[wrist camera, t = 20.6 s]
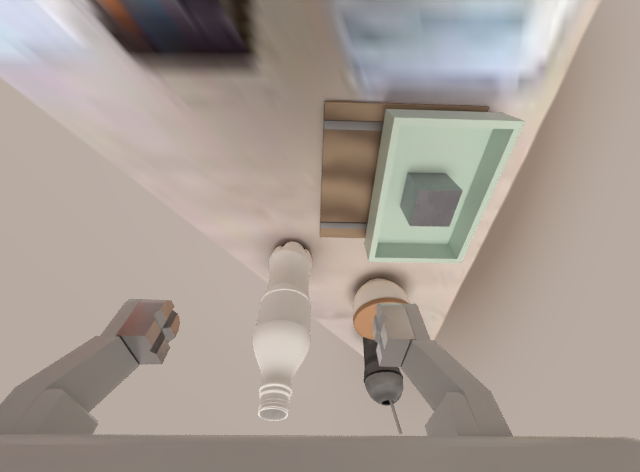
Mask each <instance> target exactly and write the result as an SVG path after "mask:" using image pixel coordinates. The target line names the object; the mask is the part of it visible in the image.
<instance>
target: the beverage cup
mask: <svg viewBox="0 0 640 472" xmlns="http://www.w3.org/2000/svg"><path fill="white" fill-rule="evenodd" d="M363 345H364V360H365V371H364V383H365V386H366V389H367V391H368V393H369V395H370V397H371V398H372V399H373V400H374V401H376V402H377V403H379V404H381V405H391V408H392V411H393V415H394V418H395V421H396V425H397V428H398V431H399V434H402V431H401V428H400V425H399V421H398V418H397V415H396V412H395V409H394V405H393V404H394V403H395V402H397V400H399V398H400V397H401V394H402V391H403V376H402V375H401V373H400V371H399V368H398V367H384V366H379V362H378V357H377V352H376V349H377V345H378V343H377V342H376V341H375V340H372V339H368V338H365V337H363Z"/></svg>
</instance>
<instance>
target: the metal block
mask: <svg viewBox="0 0 640 472" xmlns="http://www.w3.org/2000/svg"><path fill="white" fill-rule="evenodd" d="M462 191H463V190H462V189H461V188H460V187H459V186H458V185H457V184H456V183H455V182H454V181H453V180H452V179H451V178H450V177H449V176H448V175H447V174H446V173H414V172H408V173H407V177H406V181H405V186H404V190H403V194H402V199H401V203H400V208H401V210H402V212H403V214H404V216H405V218H406V220H407V222H408V224H409V226H433V227H449V226H450V224H451V221H452V218H453V216H454V213H455V210H456V208H457V205H458V202H459V200H460V197H461V194H462Z"/></svg>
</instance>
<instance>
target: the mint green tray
mask: <svg viewBox="0 0 640 472" xmlns="http://www.w3.org/2000/svg"><path fill="white" fill-rule="evenodd" d="M524 123H525V121H523V120H520V119H518V118H515V117H513V116H510V115H507V114H505V113H502V112H471V111H438V110H405V109H386V111H385V117H384V124H383V130H382V136H381V142H380V149H379V155H378V161H377V167H376V174H375V180H374V186H373V192H372V199H371V205H370V211H369V218H368V224H367V230H366V236H365V243H364V244H365V249H366V253H367V257H368V262H415V263H461V262H462V260H463V258H464V255H465V253H466V251H467V249H468V247H469V244H470V242H471V240H472V238H473V236H474V233H475V231H476V229H477V227H478V224H479V222H480V220H481V218H482V216H483V213H484V211H485V209H486V207H487V205H488V202H489V200H490V198H491V196H492V193H493V191H494V189H495V187H496V185H497V182H498V180H499V178H500V176H501V174H502V171H503V169H504V167H505V165H506V163H507V160H508V158H509V156H510V154H511V151H512V149H513V147H514V145H515V143H516V140H517V138H518V136H519V134H520V132H521V129H522V127H523V125H524ZM408 172H414V173H446V174H447V175H448V176H449V177H450V178H451V179H452V180H453V181H454V182H455V183H456V184H457V185H458V186H459V187H460V188H461V189H462V190H463V191H462V194H461V197H460V200H459V202H458V205H457V208H456V210H455V213H454V216H453V218H452V221H451V224H450V226H449V227H433V226H409V224H408V222H407V220H406V218H405V216H404V214H403V212H402V210H401V208H400V203H401V199H402V194H403V190H404V186H405V181H406V177H407V173H408Z"/></svg>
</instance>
